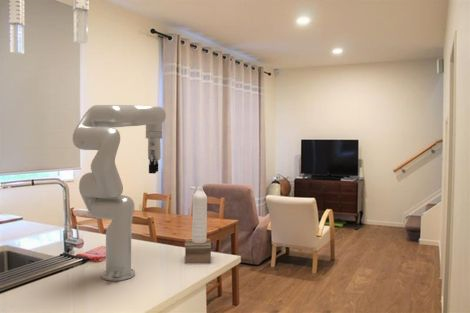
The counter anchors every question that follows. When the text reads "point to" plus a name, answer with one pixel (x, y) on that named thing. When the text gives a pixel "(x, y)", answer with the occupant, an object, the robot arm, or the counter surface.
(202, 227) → the water bottle
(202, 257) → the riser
